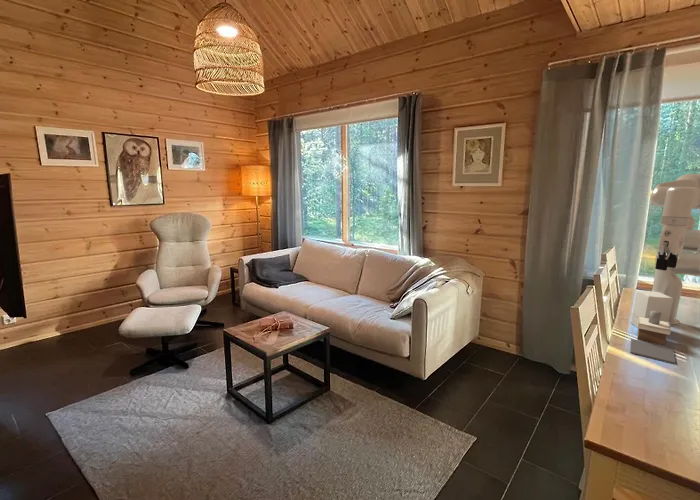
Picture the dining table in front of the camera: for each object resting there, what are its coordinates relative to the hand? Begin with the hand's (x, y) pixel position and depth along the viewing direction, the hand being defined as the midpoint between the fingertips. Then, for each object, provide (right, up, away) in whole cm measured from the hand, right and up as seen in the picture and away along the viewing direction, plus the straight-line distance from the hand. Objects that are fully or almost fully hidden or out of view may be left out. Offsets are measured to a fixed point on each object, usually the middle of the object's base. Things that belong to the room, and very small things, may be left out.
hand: (665, 268), depth 132 cm
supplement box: (+9, -26, +19) cm, 34 cm away
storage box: (+1, -28, +8) cm, 29 cm away
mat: (-7, -30, -3) cm, 31 cm away
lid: (+1, -23, +7) cm, 24 cm away
